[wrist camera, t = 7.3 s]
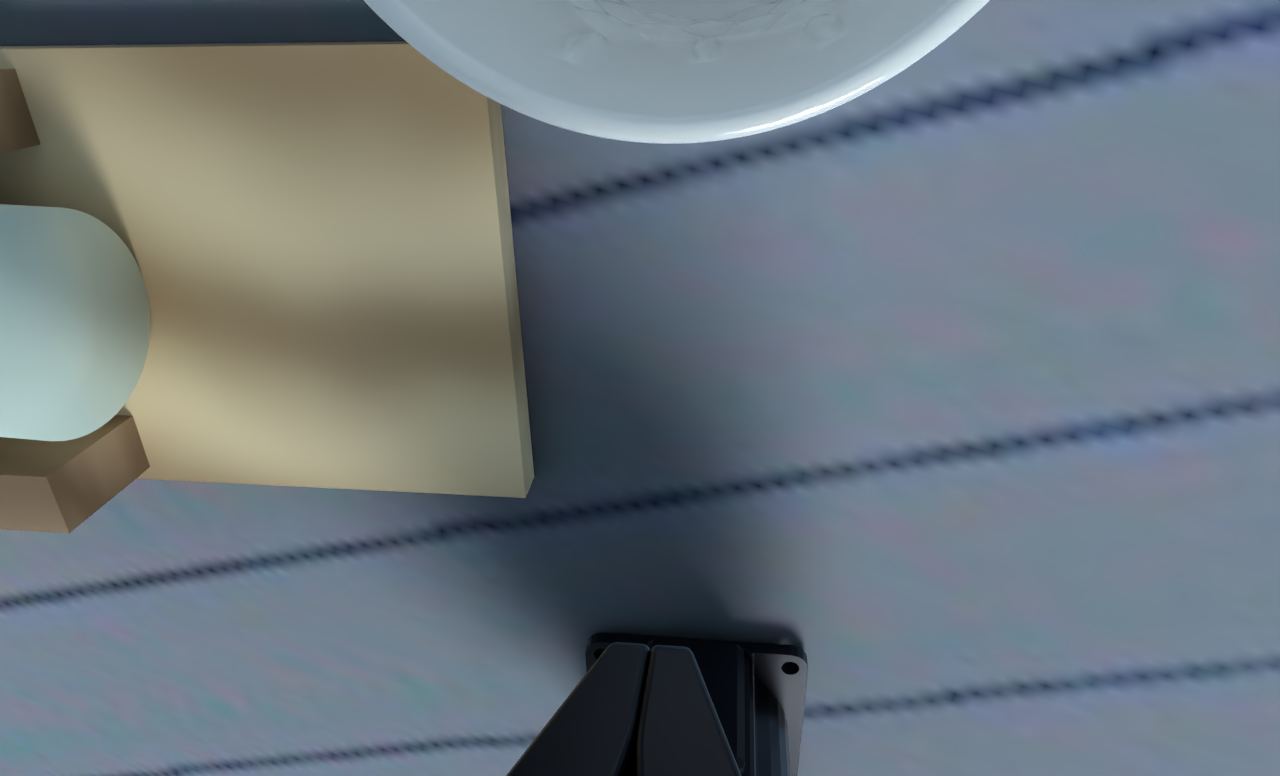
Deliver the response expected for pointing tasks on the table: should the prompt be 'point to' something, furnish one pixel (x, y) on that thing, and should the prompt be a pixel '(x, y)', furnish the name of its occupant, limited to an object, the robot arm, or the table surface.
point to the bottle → (66, 323)
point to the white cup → (673, 58)
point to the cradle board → (281, 268)
